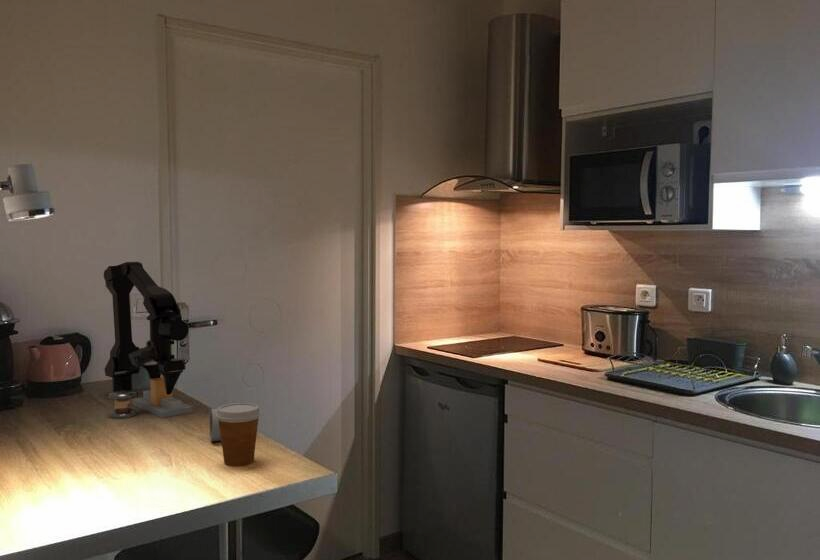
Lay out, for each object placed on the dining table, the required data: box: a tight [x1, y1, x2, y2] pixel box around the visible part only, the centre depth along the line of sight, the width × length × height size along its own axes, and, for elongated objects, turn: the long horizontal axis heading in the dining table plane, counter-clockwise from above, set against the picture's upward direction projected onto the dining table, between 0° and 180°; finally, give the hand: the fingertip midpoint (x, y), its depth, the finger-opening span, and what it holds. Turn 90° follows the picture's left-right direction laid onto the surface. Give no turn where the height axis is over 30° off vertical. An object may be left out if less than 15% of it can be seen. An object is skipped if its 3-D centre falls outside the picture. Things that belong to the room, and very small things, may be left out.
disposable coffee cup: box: [216, 402, 262, 467], centre depth 153 cm, size 10×10×12 cm
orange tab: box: [150, 376, 173, 405], centre depth 199 cm, size 3×5×7 cm, turn 133°
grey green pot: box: [132, 347, 151, 390], centre depth 226 cm, size 10×10×12 cm
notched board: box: [131, 389, 194, 419], centre depth 199 cm, size 20×9×4 cm, turn 43°
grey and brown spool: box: [108, 390, 138, 419], centre depth 192 cm, size 7×7×6 cm
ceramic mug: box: [209, 408, 221, 443], centre depth 171 cm, size 11×8×8 cm
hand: (161, 391), depth 199 cm, fingers open, 9 cm apart
